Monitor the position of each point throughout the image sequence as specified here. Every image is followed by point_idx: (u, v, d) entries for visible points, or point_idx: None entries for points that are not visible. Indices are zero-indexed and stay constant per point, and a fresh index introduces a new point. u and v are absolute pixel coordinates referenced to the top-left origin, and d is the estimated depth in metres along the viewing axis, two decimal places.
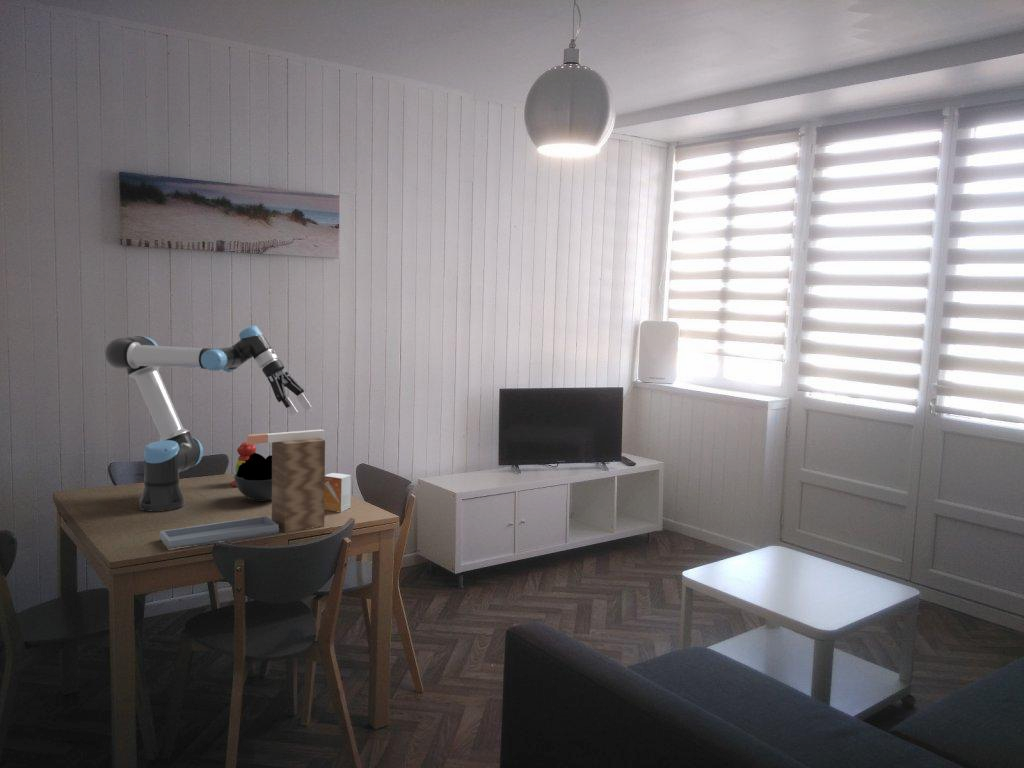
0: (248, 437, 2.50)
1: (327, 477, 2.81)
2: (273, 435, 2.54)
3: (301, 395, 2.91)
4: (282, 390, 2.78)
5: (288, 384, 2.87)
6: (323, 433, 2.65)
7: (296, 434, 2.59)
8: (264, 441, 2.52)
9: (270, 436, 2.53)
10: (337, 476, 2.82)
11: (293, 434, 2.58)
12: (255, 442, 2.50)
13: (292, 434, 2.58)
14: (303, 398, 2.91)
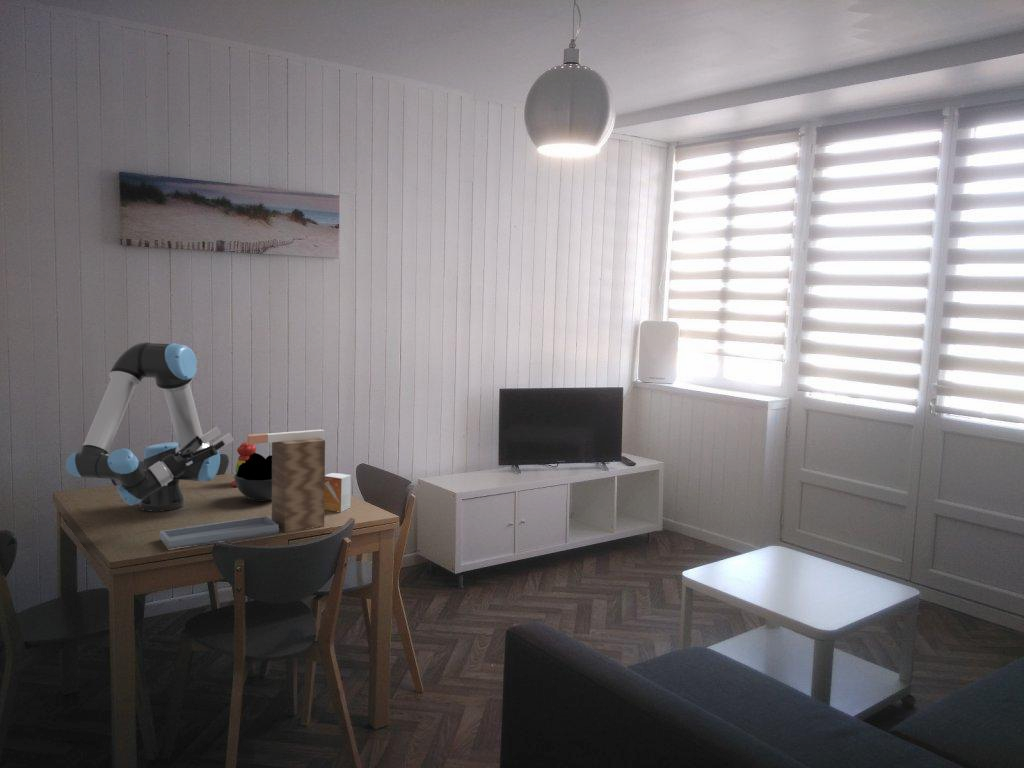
0: (248, 437, 2.50)
1: (327, 477, 2.81)
2: (273, 435, 2.54)
3: None
4: None
5: None
6: (323, 433, 2.65)
7: (296, 434, 2.59)
8: (264, 441, 2.52)
9: (270, 436, 2.53)
10: (337, 476, 2.82)
11: (293, 434, 2.58)
12: (255, 442, 2.50)
13: (292, 434, 2.58)
14: None
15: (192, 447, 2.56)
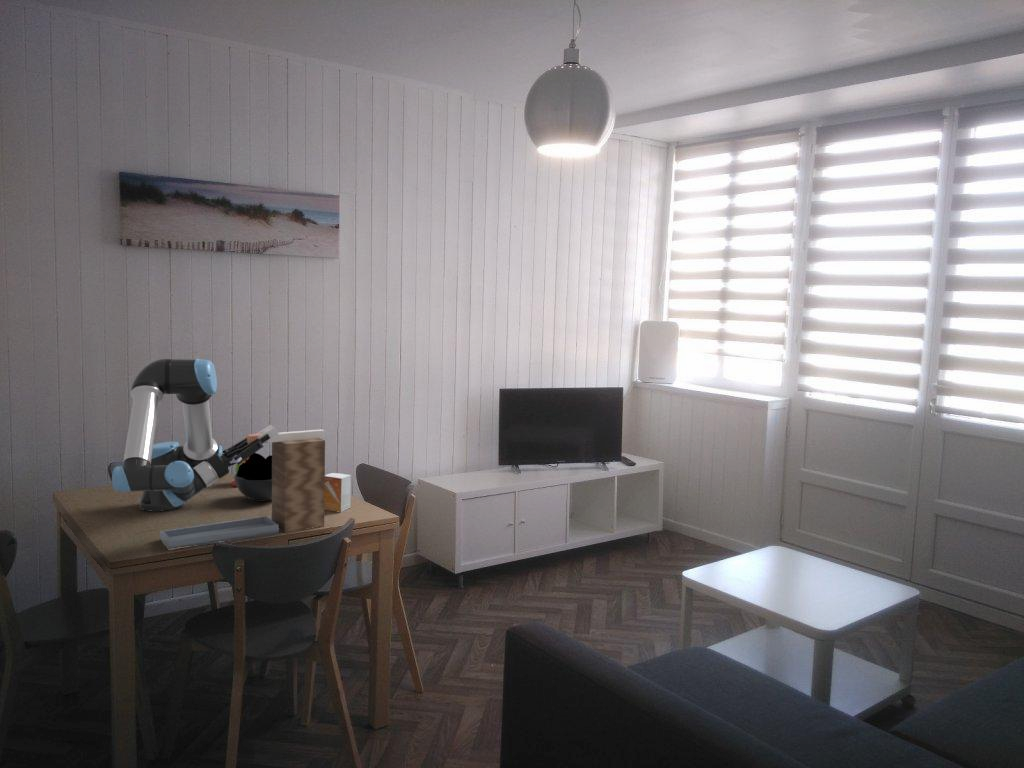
0: (248, 437, 2.50)
1: (327, 477, 2.81)
2: None
3: None
4: None
5: None
6: (323, 433, 2.65)
7: (296, 434, 2.59)
8: None
9: None
10: (337, 476, 2.82)
11: (293, 434, 2.58)
12: None
13: (292, 434, 2.58)
14: None
15: (240, 447, 2.50)
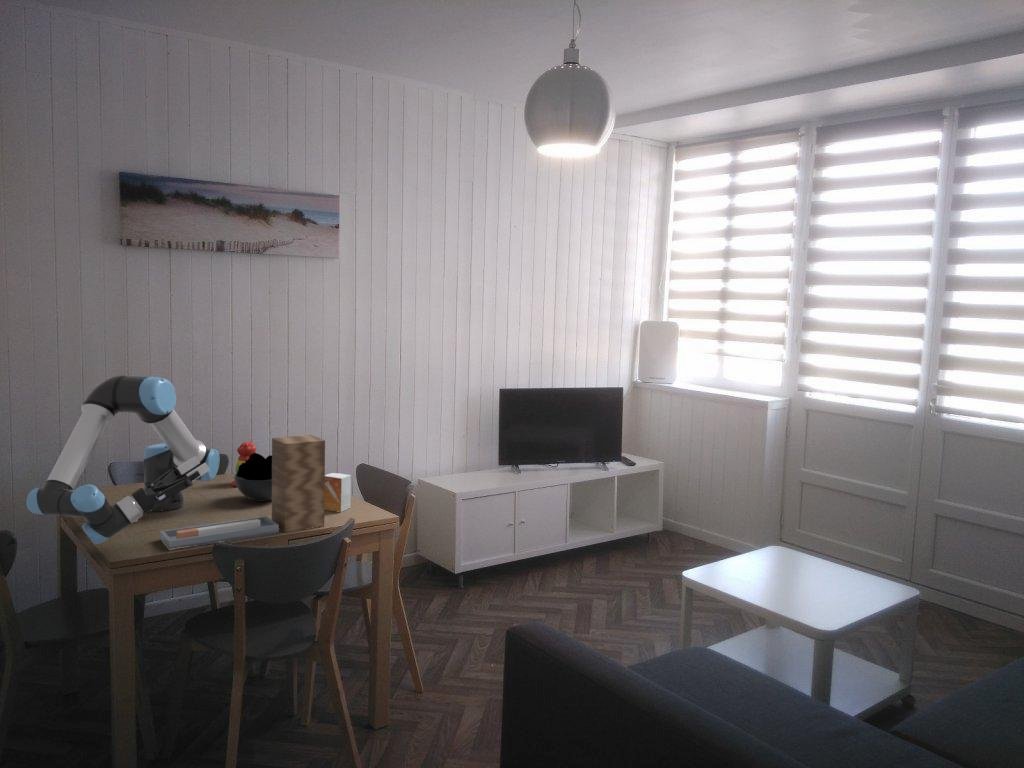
0: (177, 534, 2.40)
1: (327, 477, 2.81)
2: (204, 530, 2.44)
3: None
4: None
5: None
6: (258, 524, 2.55)
7: (229, 527, 2.49)
8: None
9: (201, 531, 2.43)
10: (337, 476, 2.82)
11: (226, 527, 2.48)
12: None
13: (225, 527, 2.48)
14: None
15: (166, 479, 2.39)
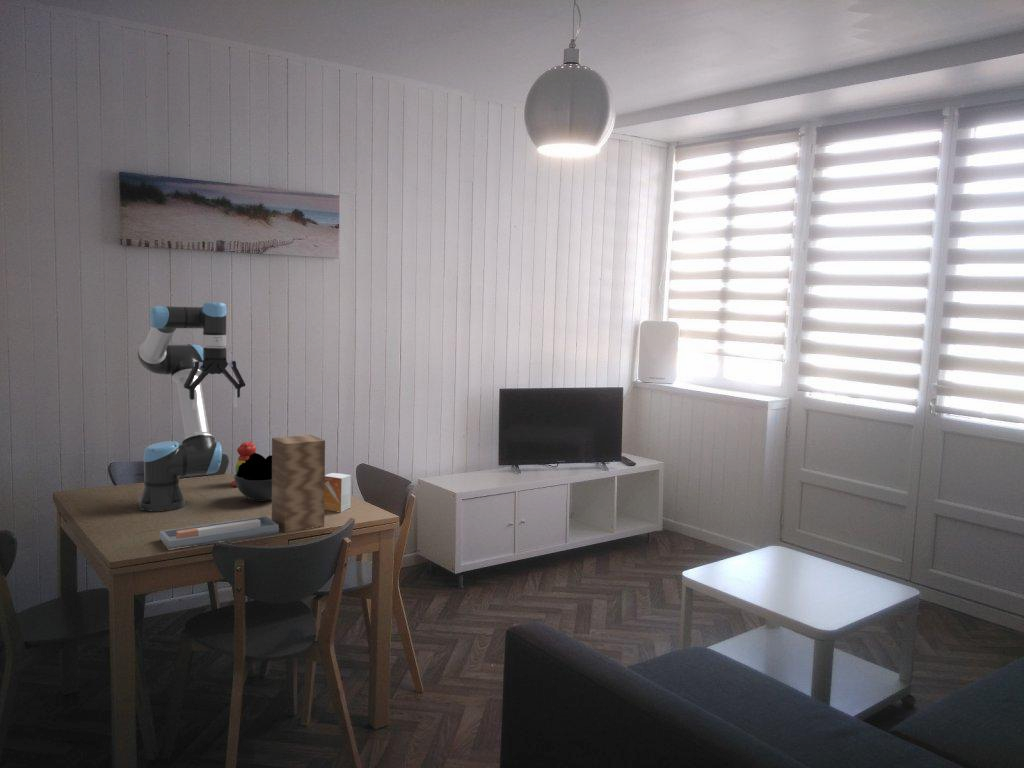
0: (177, 534, 2.40)
1: (327, 477, 2.81)
2: (204, 530, 2.44)
3: (234, 390, 2.69)
4: (196, 381, 2.61)
5: (224, 374, 2.67)
6: (258, 524, 2.55)
7: (229, 527, 2.49)
8: None
9: (201, 531, 2.43)
10: (337, 476, 2.82)
11: (226, 527, 2.48)
12: None
13: (225, 527, 2.48)
14: (234, 394, 2.69)
15: None
